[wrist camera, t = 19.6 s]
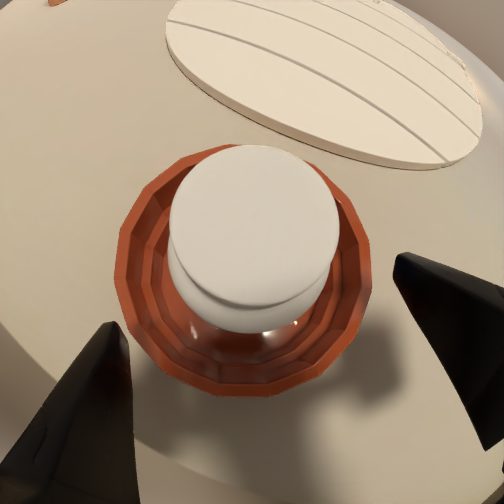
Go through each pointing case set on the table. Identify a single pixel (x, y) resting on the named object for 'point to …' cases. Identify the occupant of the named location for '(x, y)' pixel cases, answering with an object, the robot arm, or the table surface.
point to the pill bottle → (251, 238)
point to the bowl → (223, 341)
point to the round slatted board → (332, 76)
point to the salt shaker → (55, 2)
